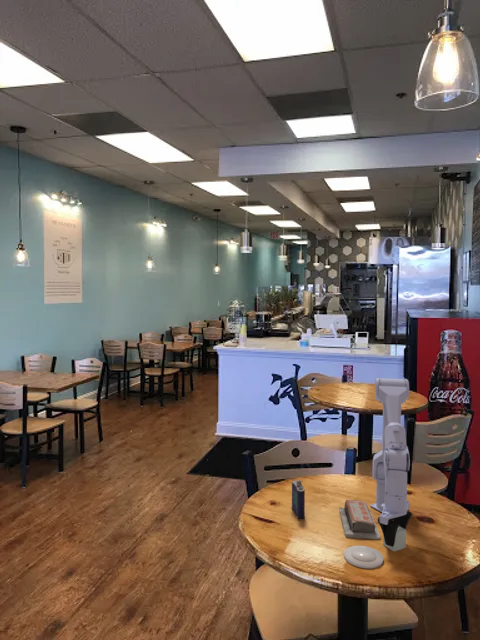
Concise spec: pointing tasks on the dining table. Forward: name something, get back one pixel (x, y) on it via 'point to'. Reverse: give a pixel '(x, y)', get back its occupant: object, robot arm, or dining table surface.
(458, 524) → the dining table surface
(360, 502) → the packaged product
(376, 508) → the robot arm
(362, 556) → the saucer
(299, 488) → the flask
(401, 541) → the mint block
